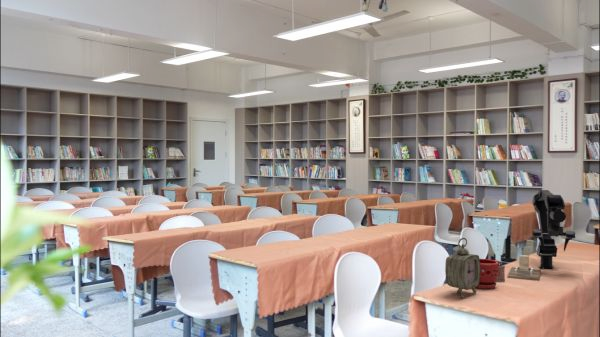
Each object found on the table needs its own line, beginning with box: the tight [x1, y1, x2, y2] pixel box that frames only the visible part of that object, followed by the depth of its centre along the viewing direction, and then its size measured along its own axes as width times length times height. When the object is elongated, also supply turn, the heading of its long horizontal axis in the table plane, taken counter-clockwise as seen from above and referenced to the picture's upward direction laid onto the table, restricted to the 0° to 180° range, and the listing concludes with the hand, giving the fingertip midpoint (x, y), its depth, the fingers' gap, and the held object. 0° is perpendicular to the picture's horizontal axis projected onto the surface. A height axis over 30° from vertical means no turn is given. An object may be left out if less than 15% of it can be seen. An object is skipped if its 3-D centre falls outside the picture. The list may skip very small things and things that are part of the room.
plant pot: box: [475, 258, 500, 289], centre depth 226 cm, size 13×13×12 cm
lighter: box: [488, 259, 506, 283], centre depth 234 cm, size 8×3×10 cm, turn 84°
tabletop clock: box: [444, 237, 481, 299], centre depth 213 cm, size 14×9×25 cm, turn 131°
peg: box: [518, 254, 530, 271], centre depth 243 cm, size 4×4×9 cm
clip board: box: [507, 266, 542, 282], centre depth 246 cm, size 20×14×4 cm
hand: (553, 250), depth 245 cm, fingers open, 9 cm apart
